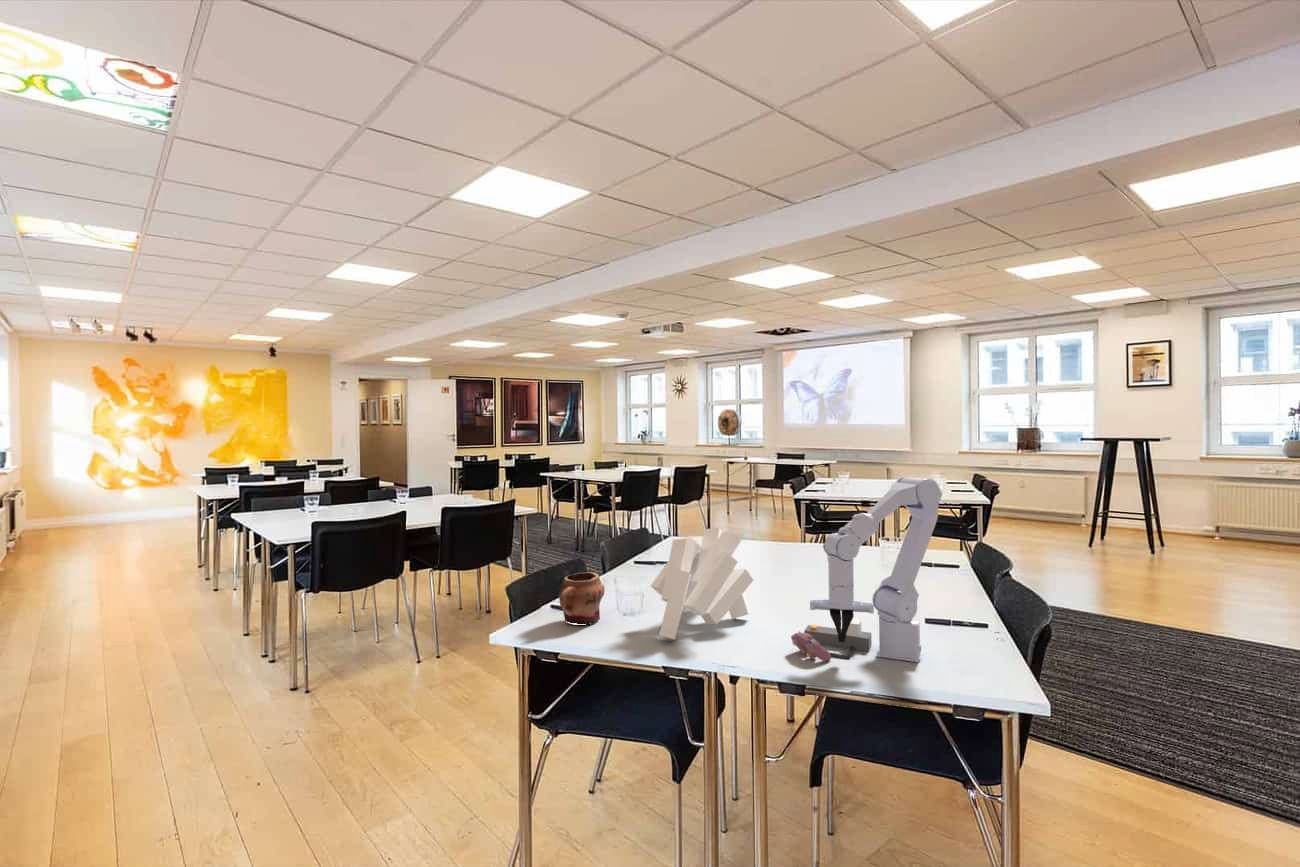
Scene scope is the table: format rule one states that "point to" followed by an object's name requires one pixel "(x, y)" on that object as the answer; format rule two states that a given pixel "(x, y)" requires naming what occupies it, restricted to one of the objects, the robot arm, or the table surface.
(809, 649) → the video game controller
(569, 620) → the decorative planter
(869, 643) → the power strip
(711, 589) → the pile of blocks
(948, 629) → the table surface
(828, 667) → the table surface
